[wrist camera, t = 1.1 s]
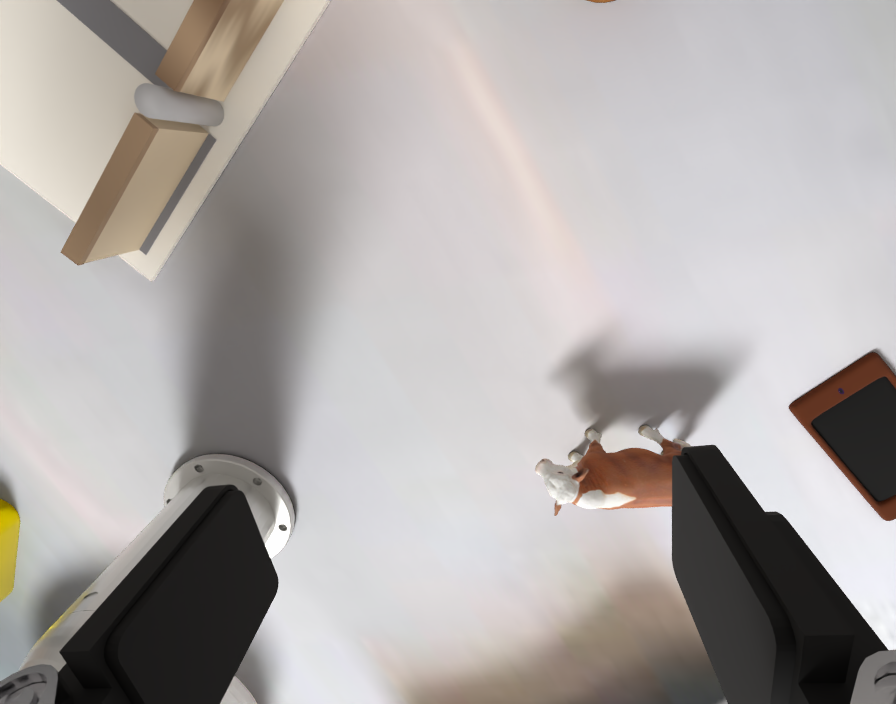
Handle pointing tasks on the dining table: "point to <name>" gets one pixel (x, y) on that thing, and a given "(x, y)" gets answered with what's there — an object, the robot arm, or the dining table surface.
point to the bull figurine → (614, 475)
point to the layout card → (125, 118)
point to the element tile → (8, 547)
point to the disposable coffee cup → (600, 1)
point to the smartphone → (858, 427)
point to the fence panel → (215, 45)
